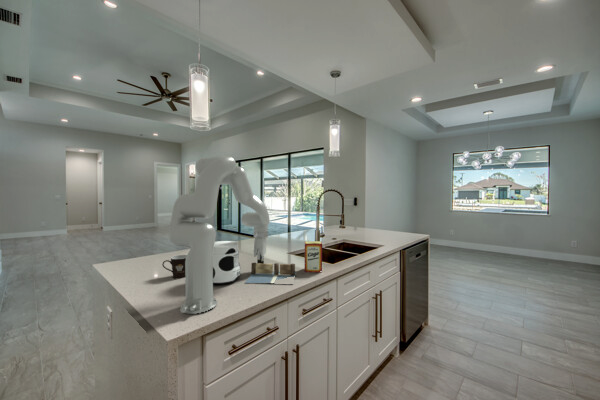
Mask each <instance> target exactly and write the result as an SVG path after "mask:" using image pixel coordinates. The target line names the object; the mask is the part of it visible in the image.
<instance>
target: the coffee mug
mask: <svg viewBox="0 0 600 400" xmlns="http://www.w3.org/2000/svg"><path fill="white" fill-rule="evenodd" d="M186 257H187V254H178V255H177V254H176V255H173V256H171V257H170V260H169V259H167V260H164V261H163V262H162V264H161V265H162V267H163V268H164V269H165V270H167V271H169V272H171V273H172V277H173V279H175V280H176V279H178V280H179V279H184V278H185V261H186ZM166 262H168V263H169V264H170V265H171V269H172V270H171V269H169V268H167V267H166V266H165V263H166Z"/></svg>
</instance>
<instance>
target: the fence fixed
mask: <svg viewBox="0 0 600 400" xmlns="http://www.w3.org/2000/svg"><path fill="white" fill-rule="evenodd" d="M273 271H274V275H279V272H280V274H290V275H291V276H294V275H295V272H296V264H295V263H281V264H280V263H278V262H276V263H273Z"/></svg>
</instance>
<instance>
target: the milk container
mask: <svg viewBox="0 0 600 400" xmlns="http://www.w3.org/2000/svg"><path fill="white" fill-rule="evenodd" d="M239 249H240V246H239V242H237V241H234V240H220V241H218V240H217V241H215V243H214V249H213V285H224V284H229V283H233V282H235V281H237V280H238V279H239V278H240V275H241V272H242V271H241V269H242V268H241V264H240V260H239V259H240V250H239Z"/></svg>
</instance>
